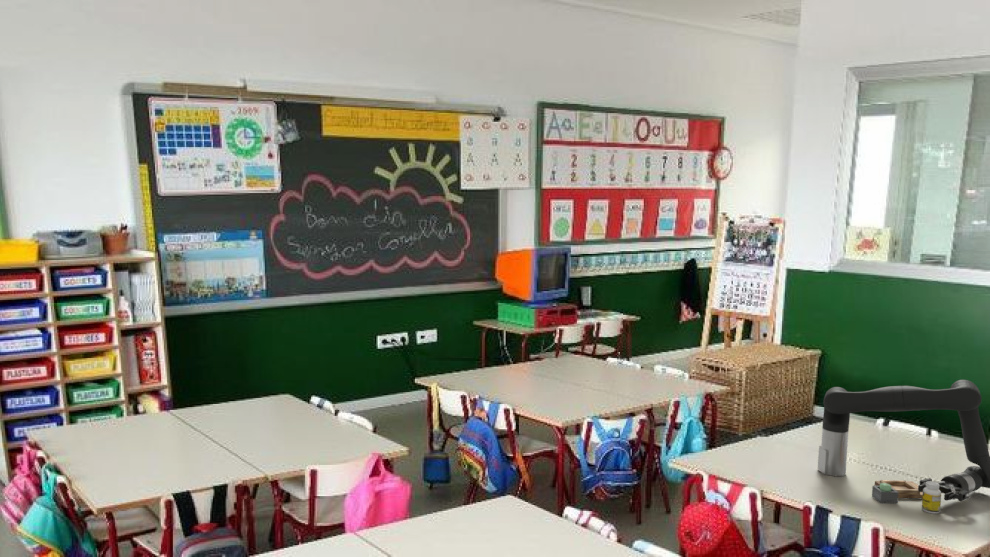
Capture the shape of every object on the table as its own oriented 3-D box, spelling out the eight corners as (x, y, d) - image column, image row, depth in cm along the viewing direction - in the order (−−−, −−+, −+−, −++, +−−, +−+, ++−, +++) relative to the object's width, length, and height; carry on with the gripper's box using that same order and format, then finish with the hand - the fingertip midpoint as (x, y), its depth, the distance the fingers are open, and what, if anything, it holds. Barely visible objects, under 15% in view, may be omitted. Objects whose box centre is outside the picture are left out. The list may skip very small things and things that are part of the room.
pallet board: (893, 498, 264) (894, 490, 263) (874, 484, 276) (875, 476, 276) (932, 499, 264) (933, 490, 263) (912, 485, 277) (912, 477, 276)
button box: (880, 503, 259) (881, 492, 259) (871, 496, 265) (872, 485, 265) (897, 503, 259) (898, 492, 259) (888, 496, 265) (889, 485, 265)
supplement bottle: (918, 507, 256) (920, 479, 255) (934, 507, 256) (936, 480, 255) (926, 513, 250) (929, 485, 250) (943, 514, 250) (945, 486, 249)
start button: (882, 495, 260) (883, 486, 260) (877, 491, 264) (877, 483, 263) (892, 495, 260) (893, 486, 260) (887, 491, 264) (888, 483, 263)
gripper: (978, 502, 255) (953, 511, 246) (936, 488, 267) (910, 496, 259) (980, 481, 254) (954, 489, 246) (938, 468, 266) (912, 475, 258)
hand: (932, 493), depth 252 cm, fingers open, 8 cm apart
